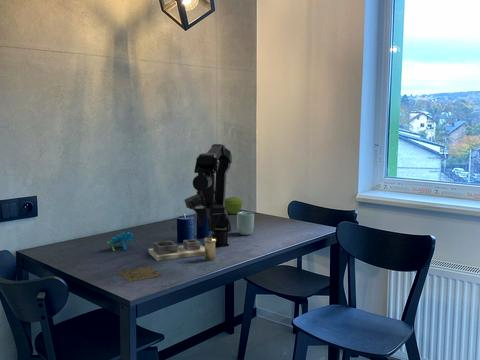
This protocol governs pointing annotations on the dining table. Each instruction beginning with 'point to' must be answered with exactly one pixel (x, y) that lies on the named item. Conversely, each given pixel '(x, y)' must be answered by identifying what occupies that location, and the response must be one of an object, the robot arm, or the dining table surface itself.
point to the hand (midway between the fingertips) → (206, 228)
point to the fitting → (209, 248)
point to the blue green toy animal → (120, 240)
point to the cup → (245, 222)
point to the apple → (233, 205)
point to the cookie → (140, 274)
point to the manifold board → (176, 249)
